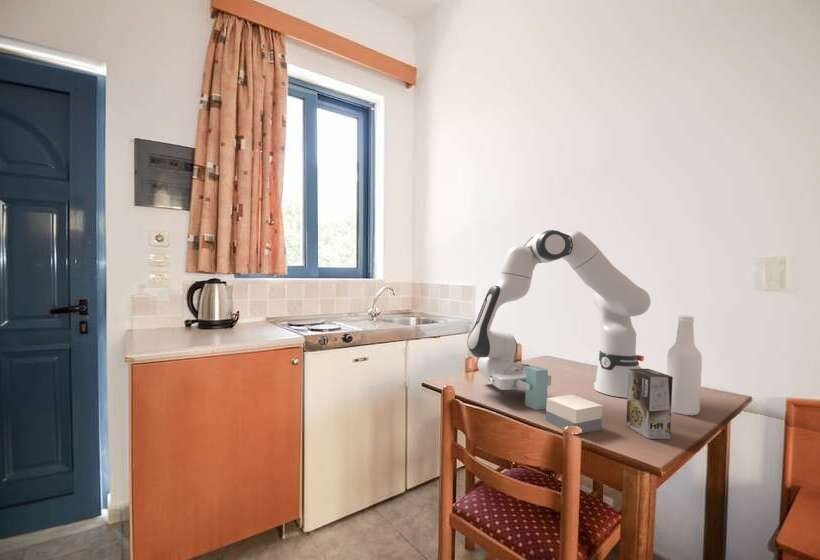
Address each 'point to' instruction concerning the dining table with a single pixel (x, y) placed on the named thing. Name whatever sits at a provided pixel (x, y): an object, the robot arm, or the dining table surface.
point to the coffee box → (649, 403)
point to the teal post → (536, 387)
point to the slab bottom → (562, 423)
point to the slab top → (574, 408)
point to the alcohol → (685, 369)
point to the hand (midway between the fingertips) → (538, 386)
